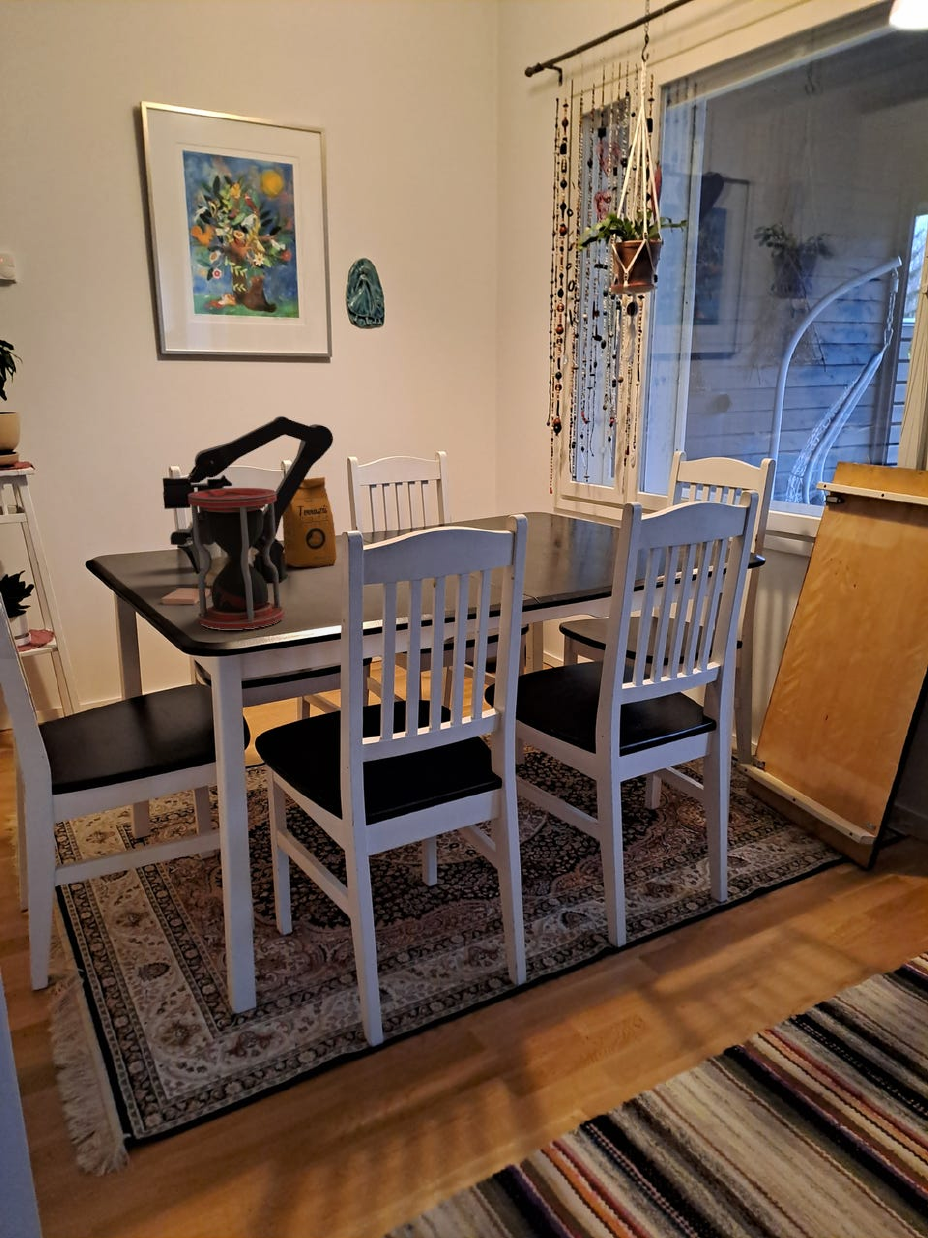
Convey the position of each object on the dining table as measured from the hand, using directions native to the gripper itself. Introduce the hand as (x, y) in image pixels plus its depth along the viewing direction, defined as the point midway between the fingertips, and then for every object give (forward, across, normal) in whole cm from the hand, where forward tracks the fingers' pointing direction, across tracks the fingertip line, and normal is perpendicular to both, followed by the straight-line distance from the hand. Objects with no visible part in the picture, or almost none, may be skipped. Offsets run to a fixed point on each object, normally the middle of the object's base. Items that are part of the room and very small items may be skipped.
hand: (217, 574), depth 197 cm
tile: (+2, -2, -10) cm, 10 cm away
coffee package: (+2, +16, +22) cm, 27 cm away
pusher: (+2, 0, 0) cm, 2 cm away
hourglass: (+2, +16, -30) cm, 34 cm away
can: (+2, -9, +16) cm, 19 cm away
